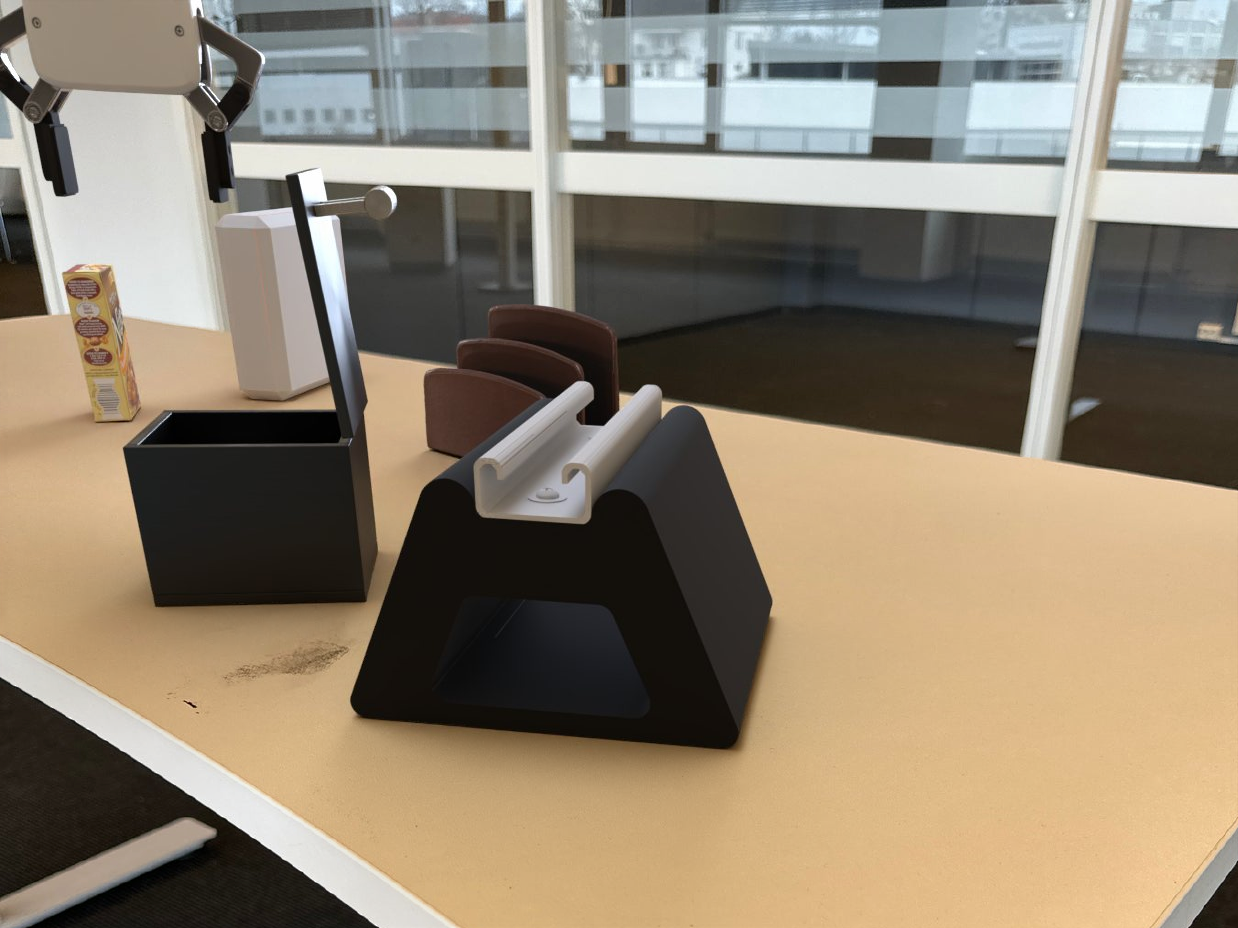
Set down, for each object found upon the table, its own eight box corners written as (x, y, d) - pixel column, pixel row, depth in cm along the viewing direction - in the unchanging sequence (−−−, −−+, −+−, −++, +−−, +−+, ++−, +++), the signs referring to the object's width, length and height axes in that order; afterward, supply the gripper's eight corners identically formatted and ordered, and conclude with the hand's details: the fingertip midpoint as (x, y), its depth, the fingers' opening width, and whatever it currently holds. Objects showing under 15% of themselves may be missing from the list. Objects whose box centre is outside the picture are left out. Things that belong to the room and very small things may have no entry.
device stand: (771, 615, 87) (787, 391, 79) (737, 750, 68) (753, 473, 60) (466, 593, 90) (451, 374, 82) (351, 716, 71) (318, 447, 63)
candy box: (132, 421, 138) (102, 270, 130) (92, 422, 137) (60, 270, 129) (142, 406, 146) (114, 262, 138) (104, 407, 145) (74, 262, 137)
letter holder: (499, 436, 135) (493, 295, 128) (622, 468, 124) (623, 316, 116) (425, 449, 129) (413, 302, 122) (547, 484, 118) (542, 324, 110)
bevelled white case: (304, 371, 168) (283, 205, 158) (359, 374, 167) (341, 207, 156) (228, 398, 151) (199, 214, 140) (289, 402, 149) (264, 216, 139)
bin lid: (284, 174, 74) (381, 164, 74) (309, 168, 84) (393, 159, 85) (342, 439, 82) (428, 429, 82) (357, 403, 92) (434, 394, 93)
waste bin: (154, 606, 86) (122, 447, 80) (190, 553, 97) (163, 409, 91) (366, 601, 88) (348, 445, 82) (378, 550, 98) (363, 408, 93)
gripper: (254, -115, 76) (286, 200, 85) (-43, -136, 74) (23, 190, 83) (233, -136, 70) (270, 207, 79) (-92, -160, 67) (-15, 196, 76)
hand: (144, 198), depth 81 cm, fingers open, 9 cm apart
